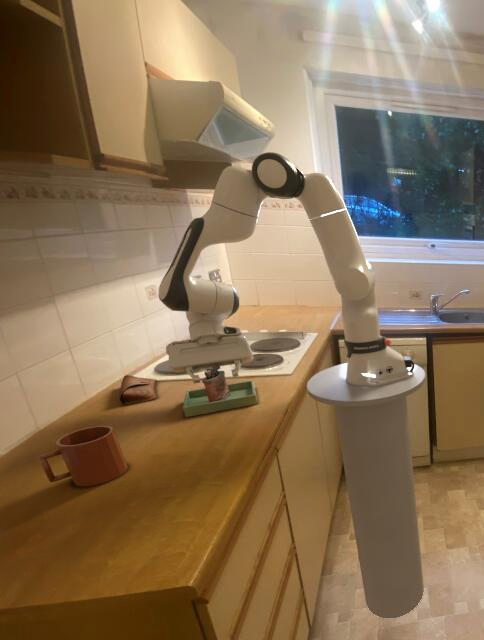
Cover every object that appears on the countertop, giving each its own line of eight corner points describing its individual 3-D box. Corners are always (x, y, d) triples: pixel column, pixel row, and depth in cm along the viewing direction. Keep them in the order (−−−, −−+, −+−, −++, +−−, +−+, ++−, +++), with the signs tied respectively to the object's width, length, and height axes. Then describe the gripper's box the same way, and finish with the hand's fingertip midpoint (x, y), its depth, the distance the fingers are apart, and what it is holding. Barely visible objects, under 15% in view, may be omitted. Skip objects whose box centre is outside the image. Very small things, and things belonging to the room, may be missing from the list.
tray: (255, 388, 136) (253, 380, 135) (257, 403, 126) (255, 395, 125) (188, 399, 128) (186, 391, 127) (185, 417, 118) (182, 408, 117)
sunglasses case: (158, 397, 128) (137, 381, 124) (136, 413, 126) (114, 398, 122) (157, 379, 141) (138, 364, 137) (137, 393, 139) (117, 379, 135)
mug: (121, 459, 98) (107, 421, 95) (132, 472, 93) (117, 434, 90) (50, 482, 90) (31, 442, 86) (57, 499, 85) (37, 457, 81)
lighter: (218, 405, 123) (209, 372, 119) (205, 405, 123) (196, 372, 119) (233, 393, 130) (225, 362, 127) (221, 393, 130) (213, 362, 126)
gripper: (161, 337, 120) (168, 381, 116) (246, 327, 130) (255, 367, 126) (168, 348, 125) (174, 390, 121) (249, 338, 135) (257, 377, 131)
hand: (216, 379), depth 124 cm, fingers open, 8 cm apart
